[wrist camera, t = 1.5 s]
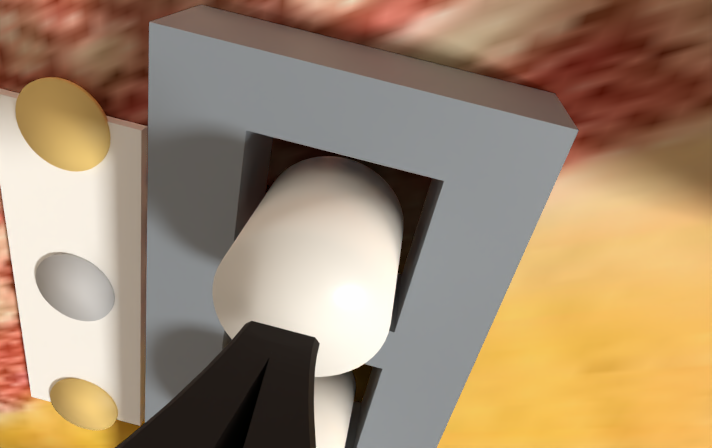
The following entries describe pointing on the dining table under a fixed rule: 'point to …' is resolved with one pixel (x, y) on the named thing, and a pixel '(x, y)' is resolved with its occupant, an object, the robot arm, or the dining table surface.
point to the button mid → (333, 409)
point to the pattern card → (77, 249)
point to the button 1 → (318, 261)
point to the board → (353, 139)
